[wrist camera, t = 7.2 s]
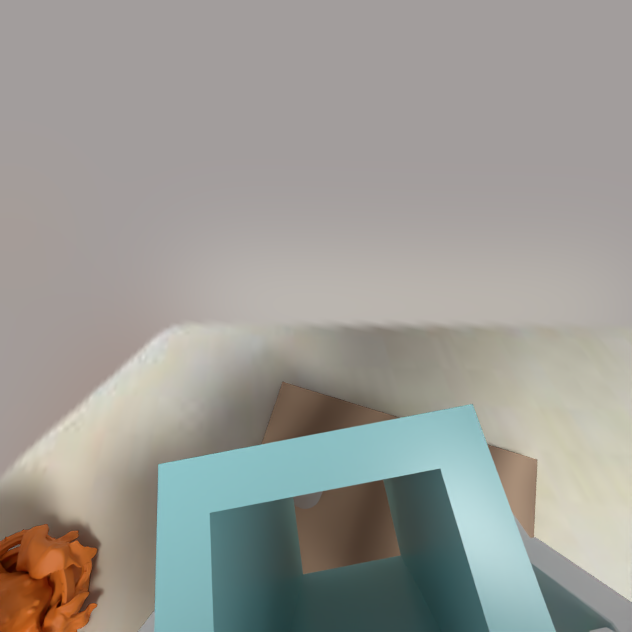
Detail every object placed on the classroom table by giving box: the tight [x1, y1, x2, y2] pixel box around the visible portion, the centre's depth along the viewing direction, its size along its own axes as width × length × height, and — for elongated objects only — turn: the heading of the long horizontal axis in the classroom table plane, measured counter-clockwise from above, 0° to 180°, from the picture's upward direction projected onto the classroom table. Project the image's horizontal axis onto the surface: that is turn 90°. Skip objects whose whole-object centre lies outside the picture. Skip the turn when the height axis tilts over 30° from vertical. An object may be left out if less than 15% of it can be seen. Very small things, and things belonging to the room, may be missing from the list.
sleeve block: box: [154, 404, 556, 632], centre depth 9 cm, size 6×6×10 cm
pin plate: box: [261, 382, 537, 574], centre depth 22 cm, size 22×14×6 cm, turn 73°
